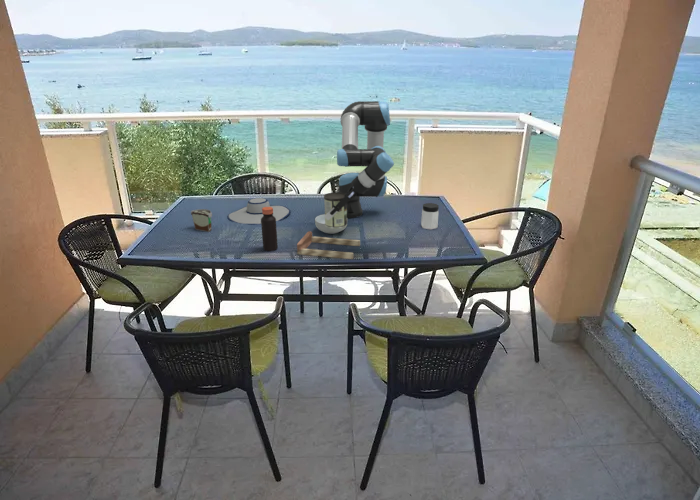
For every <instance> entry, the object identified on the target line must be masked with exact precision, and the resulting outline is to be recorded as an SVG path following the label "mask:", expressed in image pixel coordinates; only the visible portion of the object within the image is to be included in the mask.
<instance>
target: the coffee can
mask: <svg viewBox="0 0 700 500" xmlns="http://www.w3.org/2000/svg"><path fill="white" fill-rule="evenodd" d="M344 195H345V194H344V193H339V191H338V192H328V193H325V194H324V195H323V198H324V199H323V202H324V214H325V215H326V214H327V213H328V212H329V211H330V210H331V209H332V208H333V205H334V206H336V205H337V204H338V203H339V202H340V201H341V200H342V199H343V198H344ZM325 226H326V227H327V228H331V229H340V228H344V227H347V226H348V218H347V204H345V205H344V206H343V207H342V208H341V209H340V210H339V212H337V213H336V214H335V215H334V216H333V217H332V218H331V219H329V220H327V219H326V218H325Z"/></svg>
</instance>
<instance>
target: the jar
mask: <svg viewBox="0 0 700 500" xmlns="http://www.w3.org/2000/svg"><path fill="white" fill-rule="evenodd" d="M438 222H439V205H438V204H437V203H433V202H427V203H426V202H425V203H423V204H422V209H421V224H420V225H421V227H422V229H425V230H426V229H427V230H435V229H438V226H439V224H438Z"/></svg>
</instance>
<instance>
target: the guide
mask: <svg viewBox="0 0 700 500" xmlns="http://www.w3.org/2000/svg"><path fill="white" fill-rule="evenodd" d="M312 243H316V244H328V245H330V244H331V245H341V246H354V247H360V246H361V240H360V239H351V238H350V239H348V238H337V237H326V236H323V237H322V236H313V232H312V231H311V230H309V231H307V232H306V233H305V235H303V237H302V238H301V239H300V240H299V241H298V242H297V244H296V254H297V255H304V256H314V257H325V258H334V259H335V258H336V259H348V260H353V259H354V252H349V251H338V250H337V251H336V250H325V249H317V248H316V249H314V248H312V249H311V248H309V246H310V245H311V244H312Z"/></svg>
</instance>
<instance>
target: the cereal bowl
mask: <svg viewBox="0 0 700 500" xmlns="http://www.w3.org/2000/svg"><path fill="white" fill-rule="evenodd" d="M324 216H325V213H323V214H320V215H317V216H316V217H315V219H314V223H315V226H316V228H317V229H318V230H319V231H321V232H323V233H325V234H327V235H328V234H329V235H334V234H338V233H339V232H342V231H344V230H345V229H346V227H347V226H346V227H344V228H340V229H331V228H327V227H326V226H325V217H324Z"/></svg>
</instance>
